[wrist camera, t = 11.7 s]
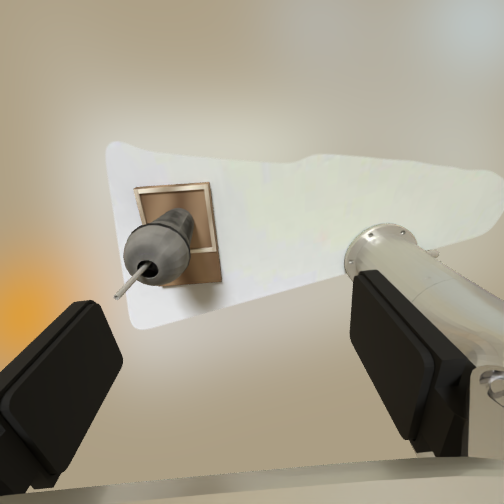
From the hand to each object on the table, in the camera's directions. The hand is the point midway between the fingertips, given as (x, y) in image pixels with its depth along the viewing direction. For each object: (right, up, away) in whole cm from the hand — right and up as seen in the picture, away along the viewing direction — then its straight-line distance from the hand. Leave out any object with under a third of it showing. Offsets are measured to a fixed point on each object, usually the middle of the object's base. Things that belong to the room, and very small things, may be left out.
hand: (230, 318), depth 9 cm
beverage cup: (-11, +7, +30) cm, 33 cm away
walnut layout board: (-11, +5, +32) cm, 34 cm away
